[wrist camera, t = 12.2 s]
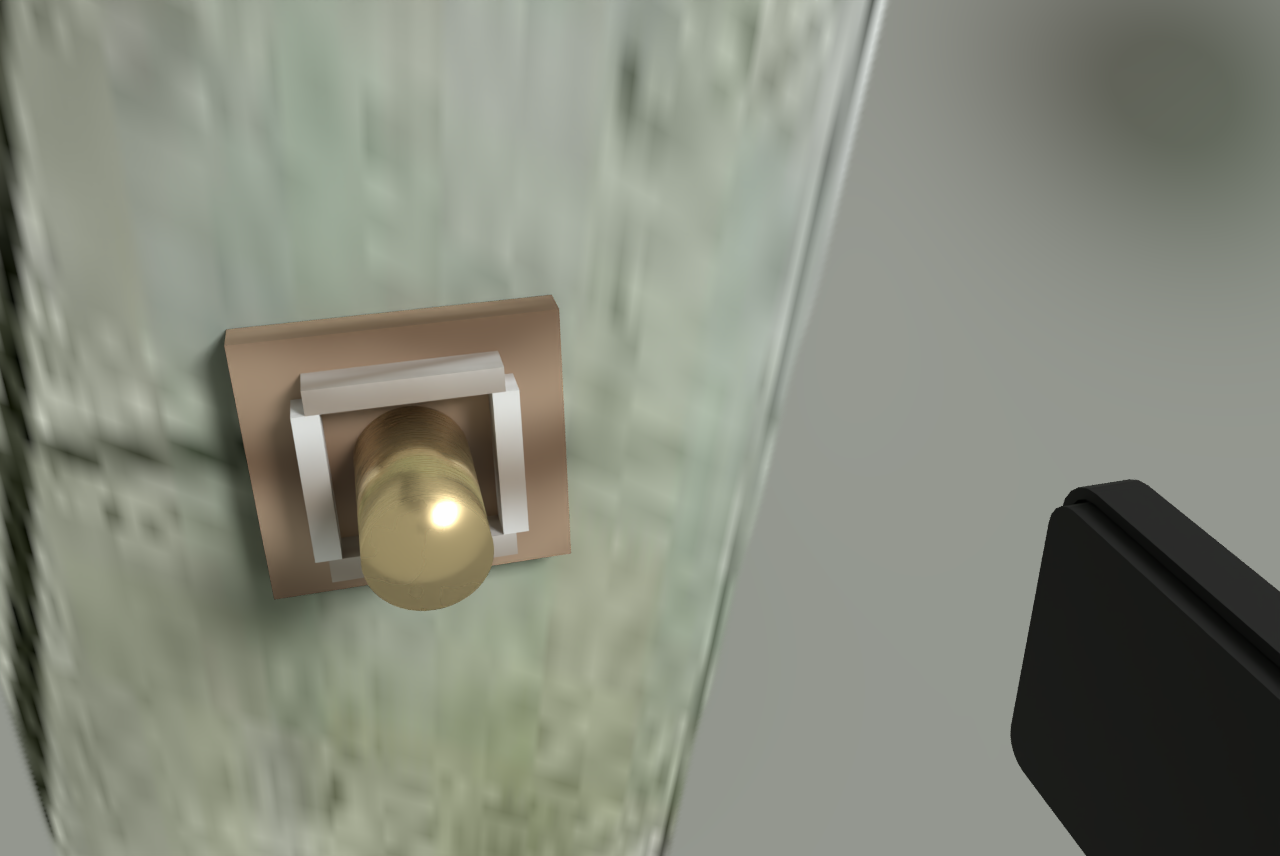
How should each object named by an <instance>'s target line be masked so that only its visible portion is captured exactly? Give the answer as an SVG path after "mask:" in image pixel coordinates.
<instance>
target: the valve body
mask: <svg viewBox="0 0 1280 856" xmlns="http://www.w3.org/2000/svg"><path fill="white" fill-rule="evenodd" d="M353 460H354V474H355V489H356V503H357V517H358V531H359V545H360V559H361V568H362V572H363V575H364V578H365V580H366V582H367V583H368V585H369V587H370V588H371V589H372V590H373V591H374V592H375V593H376V594H377V595H378V596H379V597H380V598H382V599H383V600H385V601H386V602H388V603H390V604H392V605H394V606H397V607H400V608H404V609H408V610H416V611H428V610H436V609H441V608H445V607H448V606H451V605H453V604H455V603H458V602H460V601H461V600H463V599H465V598H466V597H468V596H469V595H470V594H472V593H473V592H474V591H475V590H476V589H477V588H478V587H479V586H480V585H481V584H482V583H483V581H484V580H485V578H486V577H487V575H488V573H489V571H490V569H491V566H492V563H493V557H494V544H493V538H492V535H491V531H490V527H489V523H488V519H487V515H486V511H485V507H484V503H483V499H482V495H481V492H480V488H479V484H478V480H477V476H476V472H475V468H474V464H473V460H472V456H471V452H470V449H469V445H468V441H467V438H466V436H465V434H464V432H463V430H462V429H461V428H460V426H459V425H458V424H457V423H456V422H455V421H454V420H453V419H452V418H450V417H449V416H448V415H446V414H444V413H442V412H440V411H438V410H435V409H432V408H428V407H423V406H405V407H399V408H396V409H392V410H390V411H387V412H385V413H383V414H381V415H380V416H378V417H377V418H375V419H374V420H373V421H371V422H370V423H369V424H368V425H367V426H366V427H365V429H364V430H363V431H362V433H361V434H360V436H359V438H358V440H357V443H356V445H355V449H354V457H353Z"/></svg>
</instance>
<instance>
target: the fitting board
mask: <svg viewBox="0 0 1280 856" xmlns="http://www.w3.org/2000/svg"><path fill="white" fill-rule="evenodd" d="M224 347H225V352H226V357H227V362H228V367H229V372H230V377H231V383H232V388H233V393H234V398H235V403H236V408H237V413H238V418H239V423H240V428H241V433H242V438H243V443H244V448H245V454H246V459H247V464H248V469H249V474H250V479H251V484H252V489H253V494H254V499H255V504H256V509H257V514H258V519H259V525H260V530H261V535H262V540H263V545H264V550H265V555H266V560H267V565H268V570H269V575H270V580H271V585H272V590H273V596H274V599H281V598H287V597H294V596H300V595H306V594H313V593H319V592H326V591H332V590H339V589H345V588H351V587H358V586H364V585H368V583H367V582H366V580H365V578H364V575H363V572H362V568H361V559H360V545H359V531H358V517H357V503H356V489H355V474H354V460H353V457H354V449H355V445H356V443H357V440H358V438H359V436H360V434H361V433H362V431H363V430H364V429H365V427H366V426H367V425H368V424H369V423H370V422H371V421H373V420H374V419H375V418H377V417H378V416H380V415H381V414H383V413H385V412H387V411H390V410H392V409H396V408H399V407H405V406H423V407H428V408H432V409H435V410H438V411H440V412H442V413H444V414H446V415H448V416H449V417H450V418H452V419H453V420H454V421H455V422H456V423H457V424H458V425H459V426H460V428H461V429H462V430H463V432H464V434H465V436H466V438H467V441H468V445H469V449H470V452H471V456H472V460H473V464H474V468H475V472H476V476H477V480H478V484H479V488H480V492H481V495H482V499H483V503H484V507H485V511H486V515H487V519H488V523H489V527H490V531H491V535H492V538H493V544H494V557H493V563H492V566H493V565H499V564H506V563H512V562H518V561H525V560H531V559H538V558H544V557H550V556H557V555H563V554H570V553H571V544H570V524H569V503H568V482H567V462H566V441H565V421H564V400H563V380H562V359H561V339H560V318H559V308H558V306H557V304H556V302H555V300H554V299H553V297H552V295H546V296H536V297H527V298H518V299H508V300H499V301H490V302H480V303H471V304H461V305H452V306H443V307H433V308H424V309H415V310H405V311H396V312H386V313H377V314H368V315H358V316H349V317H340V318H330V319H321V320H311V321H302V322H293V323H283V324H274V325H265V326H255V327H246V328H236V329H227V330H226V336H225V344H224Z"/></svg>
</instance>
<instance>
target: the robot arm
mask: <svg viewBox="0 0 1280 856" xmlns="http://www.w3.org/2000/svg"><path fill="white" fill-rule="evenodd" d="M1011 744H1012V748H1013V751H1014V755H1015V757H1016V760H1017V762H1018V764H1019V766H1020V767H1021V769H1022V771H1023V772H1024V773H1025V775H1026V776H1027V777H1028V779H1029V780H1030V781H1031V783H1032V784H1033V785H1034V787H1035V788H1036V789H1037V791H1038V792H1039V793H1040V795H1041V796H1042V797H1043V799H1044V800H1045V801H1046V803H1047V804H1048V805H1049V807H1050V808H1051V809H1052V811H1053V812H1054V813H1055V815H1056V816H1057V817H1058V819H1059V820H1060V821H1061V823H1062V824H1063V825H1064V827H1065V828H1066V829H1067V831H1068V832H1069V833H1070V835H1071V836H1072V837H1073V839H1074V840H1075V841H1076V843H1077V844H1078V845H1079V847H1080V848H1081V849H1082V851H1083V852H1084V853H1085V855H1086V856H1280V591H1278V590H1277V589H1276V588H1275V587H1273V586H1272V585H1271V584H1270V583H1268V582H1267V581H1266V580H1265V579H1263V578H1262V577H1261V576H1260V575H1259V574H1257V573H1256V572H1255V571H1254V570H1252V569H1251V568H1250V567H1249V566H1247V565H1246V564H1245V563H1244V562H1242V561H1241V560H1240V559H1239V558H1237V557H1236V556H1235V555H1234V554H1232V553H1231V552H1230V551H1229V550H1227V549H1226V548H1225V547H1224V546H1223V545H1221V544H1220V543H1219V542H1217V541H1216V540H1215V539H1214V538H1212V537H1211V536H1210V535H1209V534H1208V533H1206V532H1205V531H1204V530H1203V529H1201V528H1200V527H1199V526H1198V525H1196V524H1195V523H1194V522H1193V521H1191V520H1190V519H1189V518H1188V517H1186V516H1185V515H1184V514H1183V513H1181V512H1180V511H1179V510H1178V509H1177V508H1175V507H1174V506H1173V505H1172V504H1170V503H1169V502H1168V501H1167V500H1165V499H1164V498H1163V497H1162V496H1160V495H1159V494H1158V493H1157V492H1156V491H1154V490H1153V489H1152V488H1150V487H1149V486H1148V485H1146V484H1145V483H1143V482H1141V481H1139V480H1130V479H1129V480H1123V481H1117V482H1110V483H1104V484H1098V485H1092V486H1085V487H1078V488H1076V489H1074V490H1072V491H1071V492H1070V493H1069V494H1068V496H1067V497H1066V498H1065V501H1064V504H1063V506H1061V507H1059V508H1056V509H1055V511H1054V512H1053V513H1052V515H1051V517H1050V520H1049V524H1048V530H1047V535H1046V541H1045V547H1044V551H1043V557H1042V562H1041V568H1040V573H1039V578H1038V583H1037V589H1036V594H1035V600H1034V605H1033V611H1032V616H1031V621H1030V627H1029V632H1028V637H1027V643H1026V649H1025V654H1024V659H1023V664H1022V670H1021V675H1020V681H1019V686H1018V692H1017V698H1016V702H1015V707H1014V713H1013V718H1012V724H1011Z"/></svg>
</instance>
